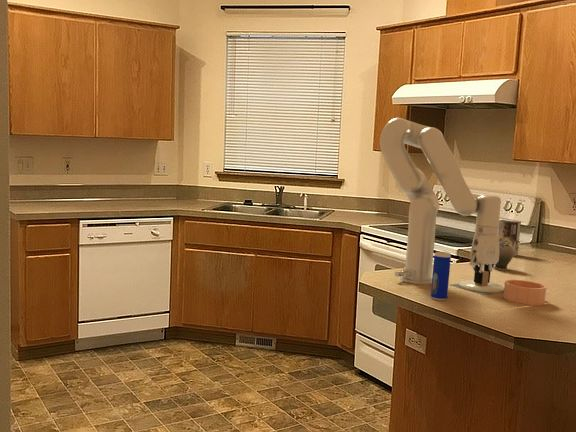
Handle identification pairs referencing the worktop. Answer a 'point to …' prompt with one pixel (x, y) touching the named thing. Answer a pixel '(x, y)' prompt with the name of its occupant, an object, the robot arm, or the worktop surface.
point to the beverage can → (440, 275)
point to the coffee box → (510, 233)
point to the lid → (482, 285)
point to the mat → (472, 291)
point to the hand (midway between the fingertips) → (481, 282)
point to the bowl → (525, 292)
